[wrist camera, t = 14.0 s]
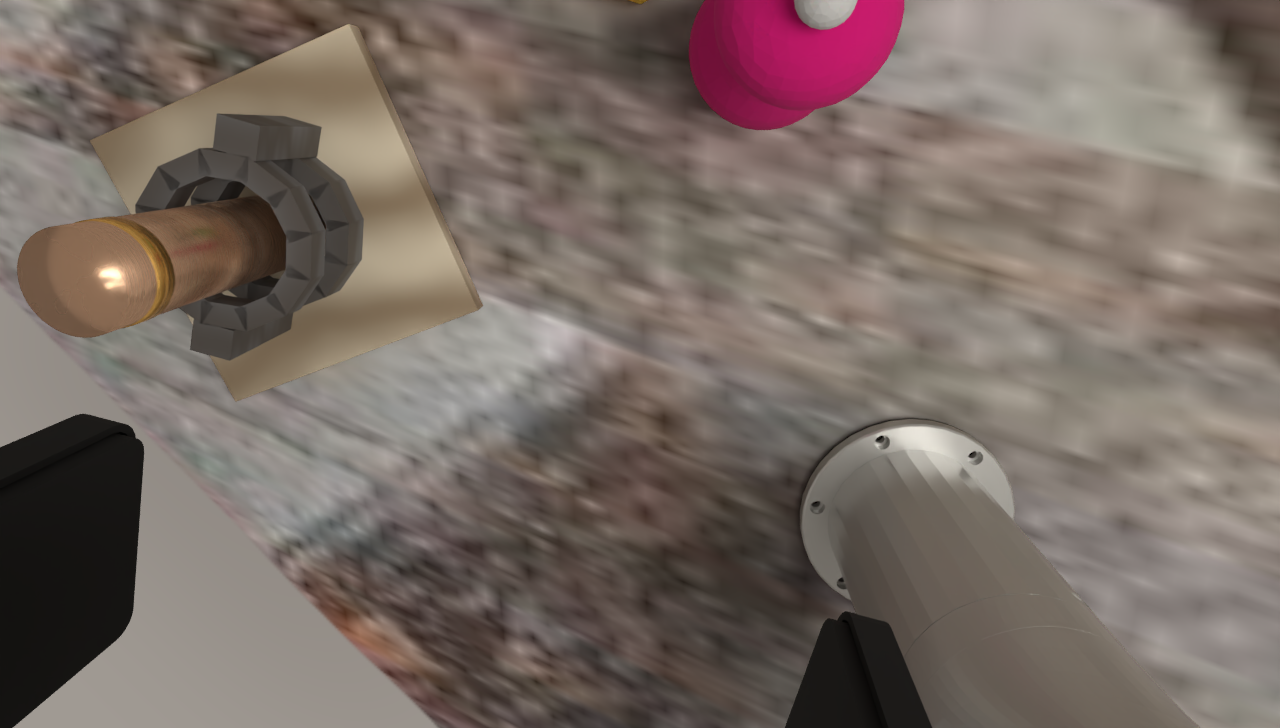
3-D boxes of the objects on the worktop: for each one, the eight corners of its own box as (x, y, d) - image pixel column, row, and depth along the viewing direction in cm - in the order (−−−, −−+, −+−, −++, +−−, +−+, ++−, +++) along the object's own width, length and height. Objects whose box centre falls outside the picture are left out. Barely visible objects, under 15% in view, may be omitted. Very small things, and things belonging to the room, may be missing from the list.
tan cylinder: (340, 249, 43) (152, 316, 27) (276, 275, 43) (57, 354, 28) (305, 178, 41) (90, 207, 26) (240, 206, 42) (-7, 249, 27)
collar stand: (483, 305, 44) (445, 339, 37) (246, 394, 47) (168, 442, 39) (358, 27, 40) (289, 4, 33) (105, 140, 43) (-10, 142, 35)
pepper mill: (678, 120, 41) (680, 112, 22) (698, -28, 39) (720, -182, 20) (812, 138, 41) (932, 145, 22) (839, -10, 39) (999, -146, 20)
